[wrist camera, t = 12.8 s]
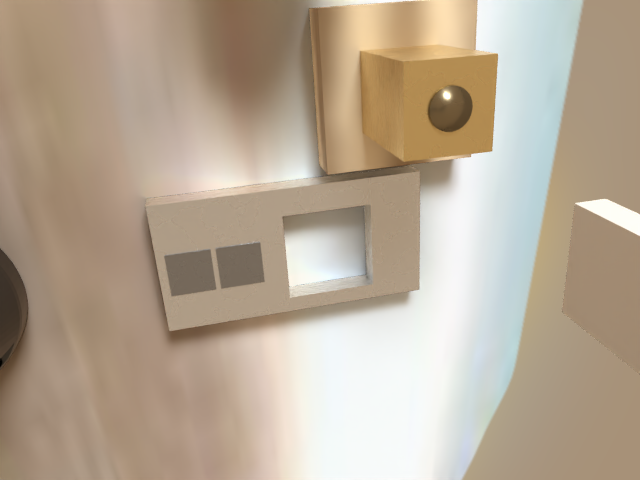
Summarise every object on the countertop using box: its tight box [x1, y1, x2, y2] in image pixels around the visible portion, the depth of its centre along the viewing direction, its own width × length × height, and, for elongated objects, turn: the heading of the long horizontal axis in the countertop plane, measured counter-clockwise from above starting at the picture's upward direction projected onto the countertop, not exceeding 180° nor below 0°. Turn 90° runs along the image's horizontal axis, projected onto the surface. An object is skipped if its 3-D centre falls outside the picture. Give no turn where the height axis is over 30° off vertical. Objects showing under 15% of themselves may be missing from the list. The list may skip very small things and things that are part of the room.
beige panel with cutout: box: [145, 165, 420, 331], centre depth 48 cm, size 22×11×2 cm, turn 94°
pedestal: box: [309, 0, 477, 175], centre depth 45 cm, size 12×12×3 cm
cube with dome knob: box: [360, 44, 498, 162], centre depth 39 cm, size 6×6×9 cm
